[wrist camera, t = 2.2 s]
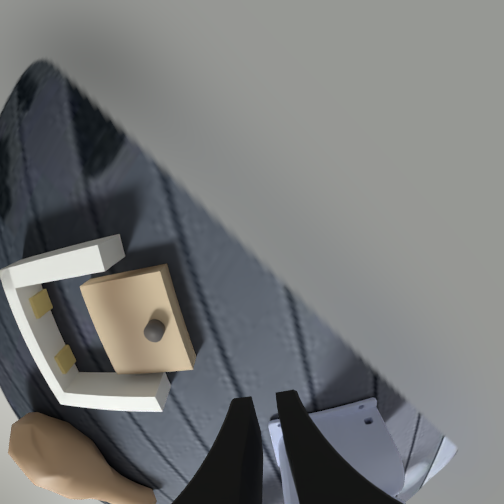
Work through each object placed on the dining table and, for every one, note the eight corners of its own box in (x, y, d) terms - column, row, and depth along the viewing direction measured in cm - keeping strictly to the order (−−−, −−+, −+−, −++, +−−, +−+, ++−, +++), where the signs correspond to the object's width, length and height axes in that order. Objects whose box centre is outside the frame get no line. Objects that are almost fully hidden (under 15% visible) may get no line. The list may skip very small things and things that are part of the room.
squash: (41, 383, 20) (13, 443, 12) (174, 470, 27) (181, 525, 19) (10, 415, 20) (-11, 463, 12) (127, 489, 27) (128, 536, 19)
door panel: (168, 261, 18) (156, 275, 15) (197, 353, 19) (191, 376, 17) (93, 276, 18) (73, 291, 15) (125, 359, 19) (113, 380, 17)
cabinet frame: (119, 233, 16) (97, 244, 14) (170, 385, 20) (162, 411, 17) (21, 259, 17) (-2, 270, 14) (74, 384, 20) (60, 404, 17)
